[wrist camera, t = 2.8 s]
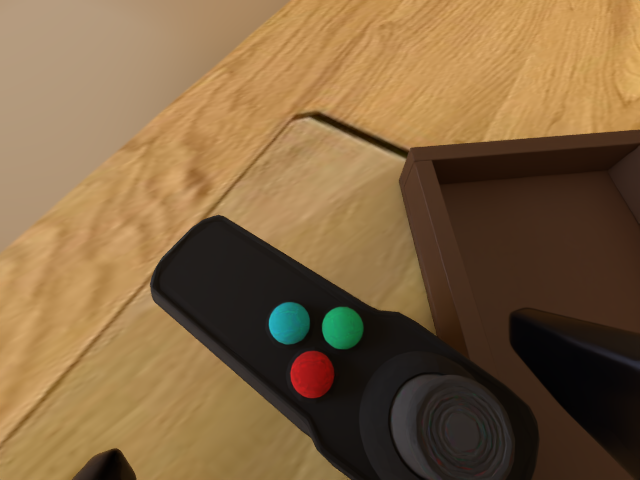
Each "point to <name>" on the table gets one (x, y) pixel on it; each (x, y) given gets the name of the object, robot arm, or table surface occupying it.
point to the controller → (344, 364)
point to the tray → (530, 258)
